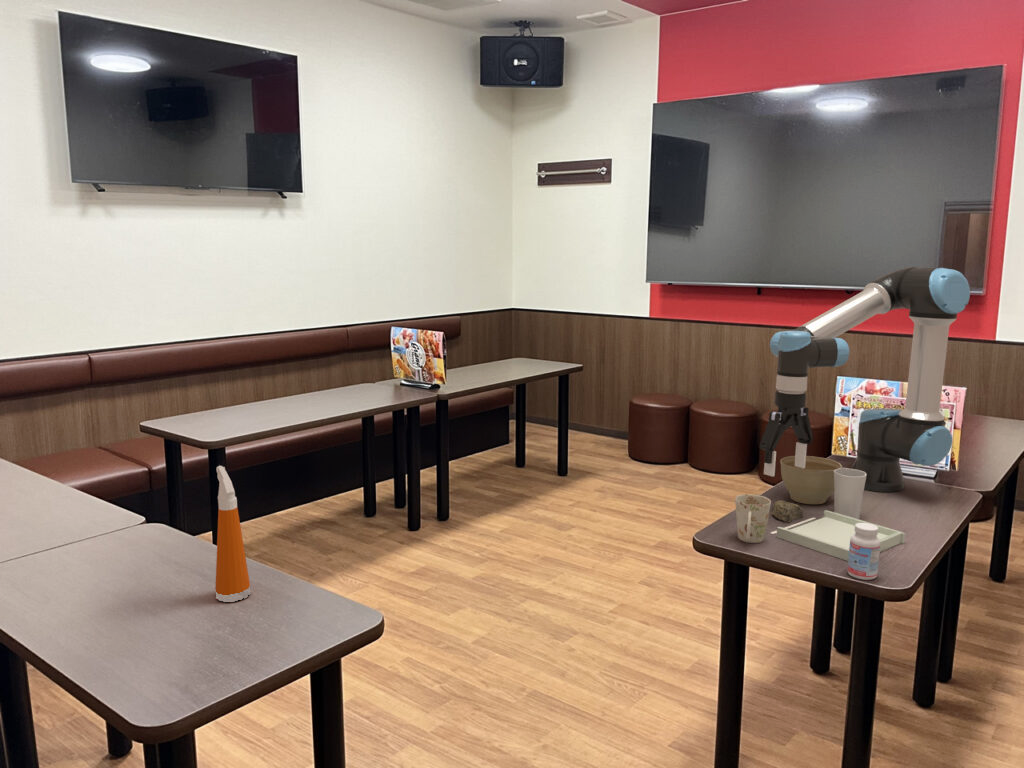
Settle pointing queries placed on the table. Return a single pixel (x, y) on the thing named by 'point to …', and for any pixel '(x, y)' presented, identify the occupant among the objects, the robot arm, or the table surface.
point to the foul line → (795, 524)
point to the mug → (752, 517)
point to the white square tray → (836, 535)
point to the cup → (848, 491)
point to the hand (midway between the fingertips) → (784, 471)
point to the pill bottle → (864, 552)
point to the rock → (786, 511)
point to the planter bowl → (809, 479)
